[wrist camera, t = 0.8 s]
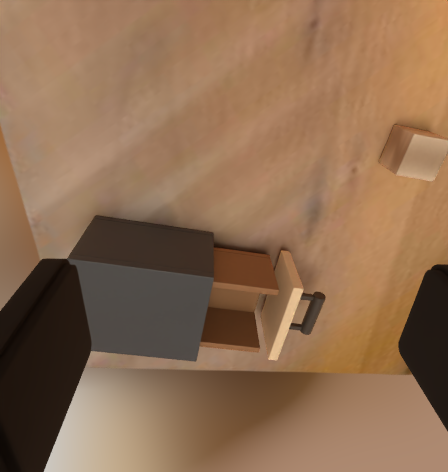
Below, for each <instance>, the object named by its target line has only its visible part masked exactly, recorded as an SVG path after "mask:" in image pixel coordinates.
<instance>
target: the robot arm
mask: <svg viewBox="0 0 448 472" xmlns="http://www.w3.org/2000/svg"><path fill="white" fill-rule="evenodd" d="M91 346H92V341H91V335H90V330H89V325H88V320H87V315H86V310H85V305H84V300H83V295H82V290H81V285H80V280H79V275H78V270H77V267H76V265H70V262H69V261H68V260H67V259H42V260H41V261H40V262H39V263H38V265H37V266H36V267H35V268H34V270H33V271H32V272H31V274H30V275H29V276H28V277H27V278H26V280H25V281H24V282H23V283H22V285H21V286H20V287H19V289H18V290H17V291H16V292H15V293H14V295H13V296H12V297H11V299H10V300H9V301H8V302H7V303H6V305H5V306H4V307H3V308H2V310H1V311H0V472H44V469H45V467H46V464H47V461H48V459H49V457H50V454H51V452H52V449H53V446H54V444H55V441H56V439H57V436H58V434H59V431H60V429H61V426H62V424H63V421H64V419H65V416H66V413H67V411H68V408H69V406H70V403H71V401H72V398H73V396H74V393H75V391H76V388H77V386H78V383H79V381H80V378H81V376H82V373H83V371H84V368H85V365H86V363H87V360H88V358H89V355H90V352H91ZM398 347H399V352H400V354H401V356H402V358H403V359H404V361H405V363H406V364H407V366H408V368H409V369H410V371H411V372H412V374H413V376H414V377H415V379H416V381H417V382H418V384H419V385H420V387H421V389H422V390H423V392H424V394H425V395H426V397H427V399H428V400H429V402H430V403H431V405H432V407H433V408H434V410H435V412H436V413H437V415H438V416H439V418H440V420H441V421H442V423H443V425H444V426H445V428H446V429H447V431H448V265H441V264H437V265H434V266H433V267H432V268H431V270H428V271H427V272H426V273H425V275H424V278H423V280H422V283H421V285H420V288H419V291H418V293H417V296H416V298H415V301H414V304H413V306H412V309H411V311H410V314H409V317H408V319H407V322H406V324H405V327H404V330H403V332H402V335H401V337H400V340H399V346H398Z"/></svg>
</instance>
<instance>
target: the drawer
mask: <svg viewBox="0 0 448 472" xmlns="http://www.w3.org/2000/svg"><path fill="white" fill-rule="evenodd" d="M303 290H304V288H303V286H302V283H301V280H300V278H299V275H298V272H297V270H296V267H295V264H294V262H293V259H292V256H291V254H290V252H289V251H283V250H281V253H280V256H279V259H278V262H277V265H276V268H275V272H274V269H273V266H272V262H271V259H270V255H266V254H258V253H251V252H244V251H237V250H230V249H223V248H216V247H214V281H213V285H212V290H211V295H210V299H209V304H208V309H207V313H206V318H205V323H204V327H203V332H202V337H201V342H200V346H202V347H211V348H220V349H230V350H239V351H248V352H259V350H260V345H259V339H258V333H257V326H256V320H255V314H254V311H255V308H256V305H257V301H258V298H259V295H260V293H262V294H267V297H266V300H265V303H264V307H263V310H262V313H261V322H262V327H263V333H264V339H265V344H266V350H267V355H268V359H270V360H277V359H278V356H279V354H280V351H281V348H282V346H283V343H284V340H285V338H286V335H287V332H288V330H289V329H293V330H300V331H301V332H302V333H303V334H306V335H309V334H311V331H312V329H313V327H314V324H315V322H316V320H317V317H318V315H319V313H320V310H321V308H322V305H323V303H324V301H325V298H326V297H325V295H324V294H323V293H321V292H314V294H313V295H312V294H305V293H303ZM300 299H301V300H309V301H310V304H309V306H308V309H307V311H306V314H305V317H304V319H303V322H302V324H295V323H291V322H292V319H293V316H294V314H295V311H296V308H297V306H298V303H299V301H300Z"/></svg>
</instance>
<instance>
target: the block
mask: <svg viewBox="0 0 448 472" xmlns="http://www.w3.org/2000/svg"><path fill="white" fill-rule="evenodd" d="M447 154H448V139H447V138H444V137H442V136H440V135H437V134H435V133H432V132H430V131H425V130H420V129H415V128H410V127H405V126H400V125H394V127H393V129H392V131H391V134H390V136H389V139H388V141H387V143H386V146H385V148H384V151H383V153H382V155H381V158H380V160H379V163H380V164H382V165H383V166H384V167H386V168H387V169H389V170H390V171H391V172H393V173H394V174H395V175H399V176H404V177H410V178H416V179H421V180H427V181H434V179H435V177H436V175H437V173H438V171H439V169H440V168H441V166H442V164H443V162H444V160H445V158H446V156H447Z"/></svg>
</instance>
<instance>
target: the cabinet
mask: <svg viewBox="0 0 448 472" xmlns="http://www.w3.org/2000/svg"><path fill="white" fill-rule="evenodd" d="M67 260H68V261H69V262H70V265H76V267H77V270H78V275H79V280H80V285H81V290H82V295H83V300H84V305H85V310H86V315H87V320H88V325H89V330H90V335H91V341H92V346H91V351H97V352H107V353H117V354H127V355H137V356H147V357H157V358H167V359H177V360H187V361H196V360H197V356H198V351H199V346H200V342H201V337H202V332H203V327H204V323H205V318H206V313H207V309H208V304H209V299H210V295H211V290H212V285H213V281H214V240H213V233H212V232H205V231H198V230H192V229H185V228H178V227H171V226H164V225H158V224H151V223H144V222H137V221H130V220H123V219H117V218H110V217H103V216H95V217H94V219H93V220H92V222H91V223H90V225H89V226H88V228H87V229H86V231H85V232H84V234H83V235H82V237H81V238H80V240H79V241H78V243H77V244H76V246H75V247H74V249H73V250H72V252H71V253H70V255H69V257H68V258H67Z"/></svg>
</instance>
